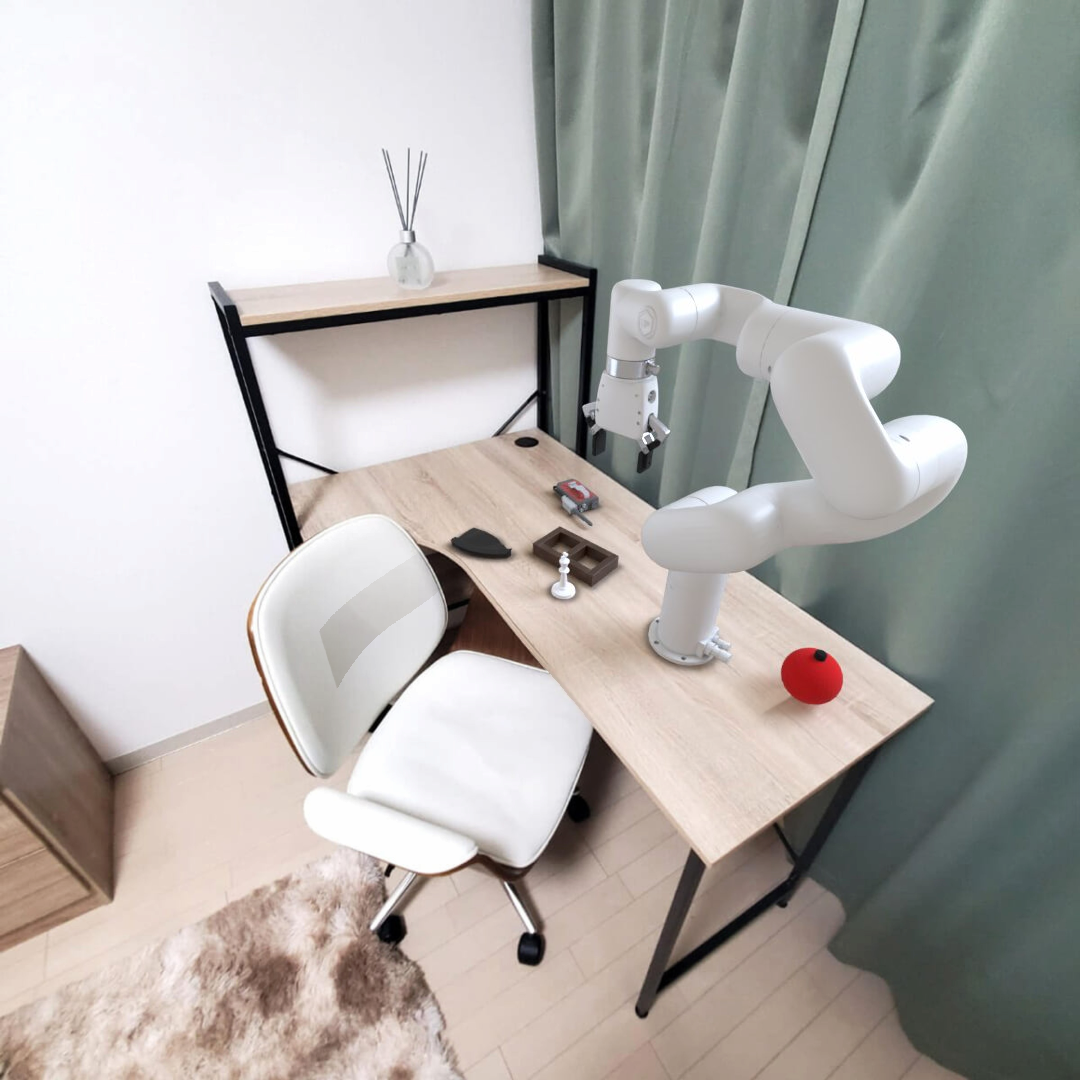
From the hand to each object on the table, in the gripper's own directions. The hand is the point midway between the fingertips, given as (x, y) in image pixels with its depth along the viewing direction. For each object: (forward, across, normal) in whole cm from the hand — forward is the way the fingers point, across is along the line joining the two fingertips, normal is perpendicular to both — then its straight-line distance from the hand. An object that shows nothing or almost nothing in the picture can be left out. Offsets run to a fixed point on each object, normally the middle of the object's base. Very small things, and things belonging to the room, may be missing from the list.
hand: (620, 461), depth 95 cm
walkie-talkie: (+28, +23, -19) cm, 41 cm away
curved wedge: (+28, +29, +10) cm, 42 cm away
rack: (+28, +10, -1) cm, 30 cm away
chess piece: (+28, +5, +8) cm, 30 cm away
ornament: (+28, -41, +1) cm, 50 cm away
